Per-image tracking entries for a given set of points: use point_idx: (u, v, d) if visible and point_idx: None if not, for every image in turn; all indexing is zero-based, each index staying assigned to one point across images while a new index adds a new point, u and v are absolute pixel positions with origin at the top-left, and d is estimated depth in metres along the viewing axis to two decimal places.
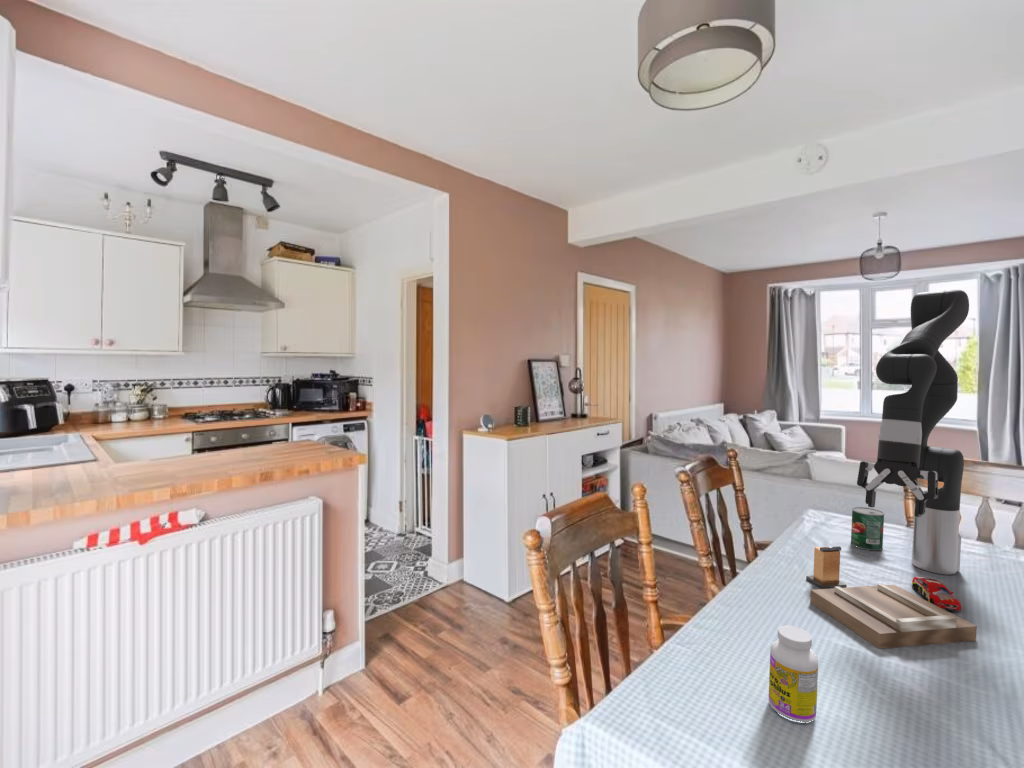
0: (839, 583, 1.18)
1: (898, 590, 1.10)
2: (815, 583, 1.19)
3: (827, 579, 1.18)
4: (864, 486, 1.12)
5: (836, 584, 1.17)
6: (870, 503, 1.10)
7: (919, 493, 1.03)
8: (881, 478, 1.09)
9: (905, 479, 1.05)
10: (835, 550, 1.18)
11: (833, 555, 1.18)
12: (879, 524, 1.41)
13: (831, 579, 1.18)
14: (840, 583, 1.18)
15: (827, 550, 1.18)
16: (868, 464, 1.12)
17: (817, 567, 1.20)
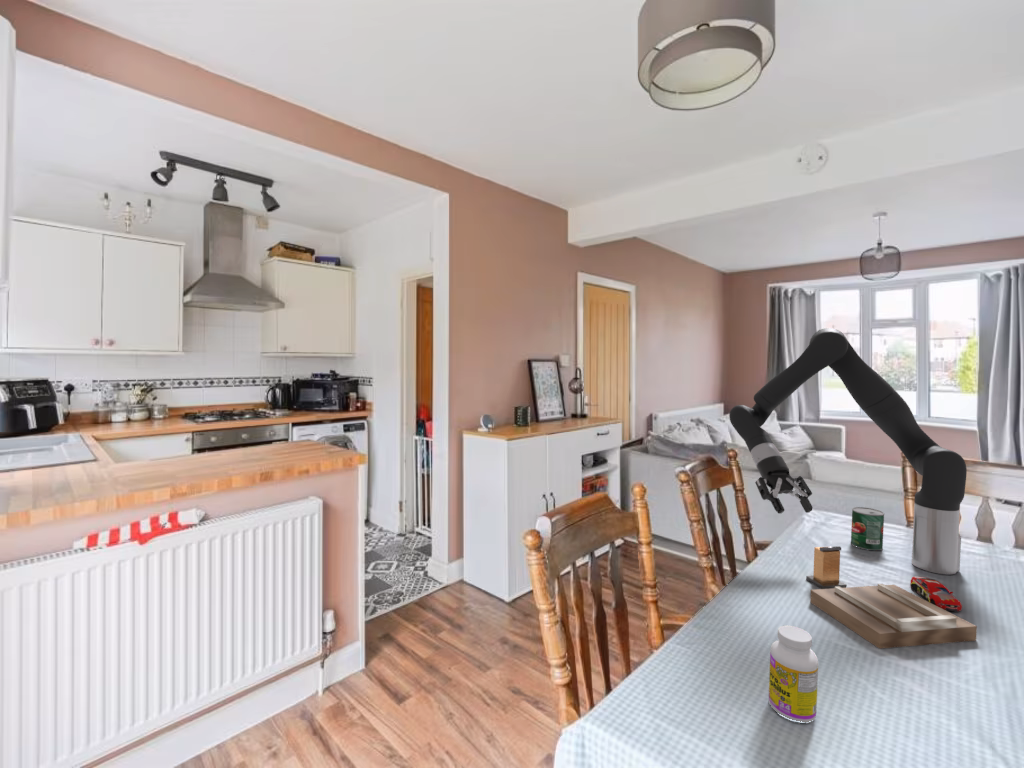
0: (839, 583, 1.18)
1: (898, 590, 1.10)
2: (815, 583, 1.19)
3: (827, 579, 1.18)
4: None
5: (836, 584, 1.17)
6: None
7: None
8: None
9: None
10: (835, 550, 1.18)
11: (832, 555, 1.18)
12: (879, 524, 1.41)
13: (831, 579, 1.18)
14: (840, 583, 1.18)
15: (827, 550, 1.18)
16: None
17: (817, 567, 1.20)
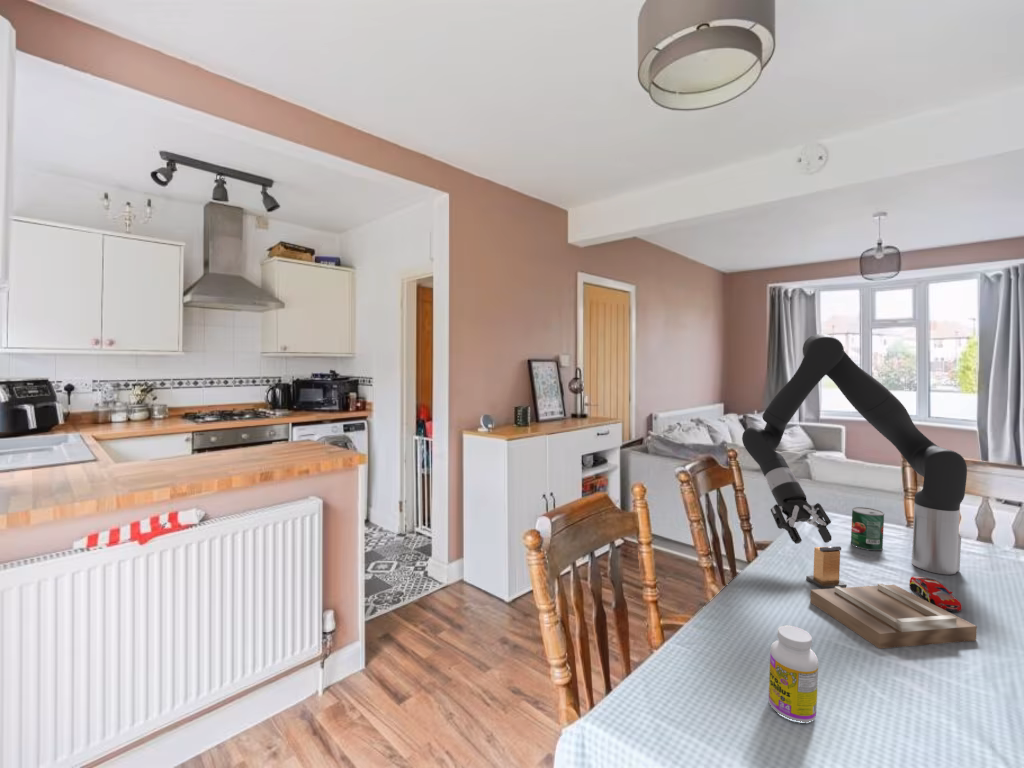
0: (839, 583, 1.18)
1: (898, 590, 1.10)
2: (815, 583, 1.19)
3: (827, 579, 1.18)
4: None
5: (836, 584, 1.17)
6: None
7: None
8: None
9: None
10: (835, 550, 1.18)
11: (832, 555, 1.18)
12: (879, 524, 1.41)
13: (831, 579, 1.18)
14: (840, 583, 1.18)
15: (827, 550, 1.18)
16: None
17: (817, 567, 1.20)
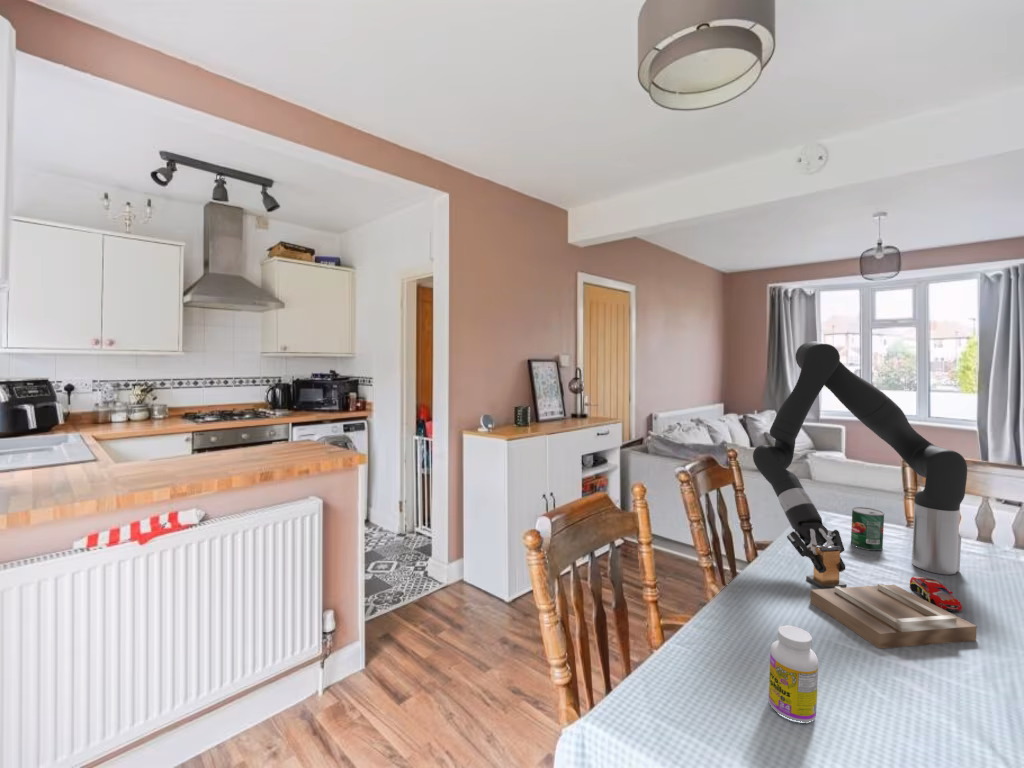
0: (839, 583, 1.18)
1: (898, 590, 1.10)
2: (815, 583, 1.19)
3: (827, 579, 1.18)
4: None
5: (836, 584, 1.17)
6: None
7: None
8: None
9: None
10: (835, 550, 1.18)
11: (832, 555, 1.18)
12: (879, 524, 1.41)
13: (831, 579, 1.18)
14: (840, 583, 1.18)
15: (827, 550, 1.18)
16: None
17: None
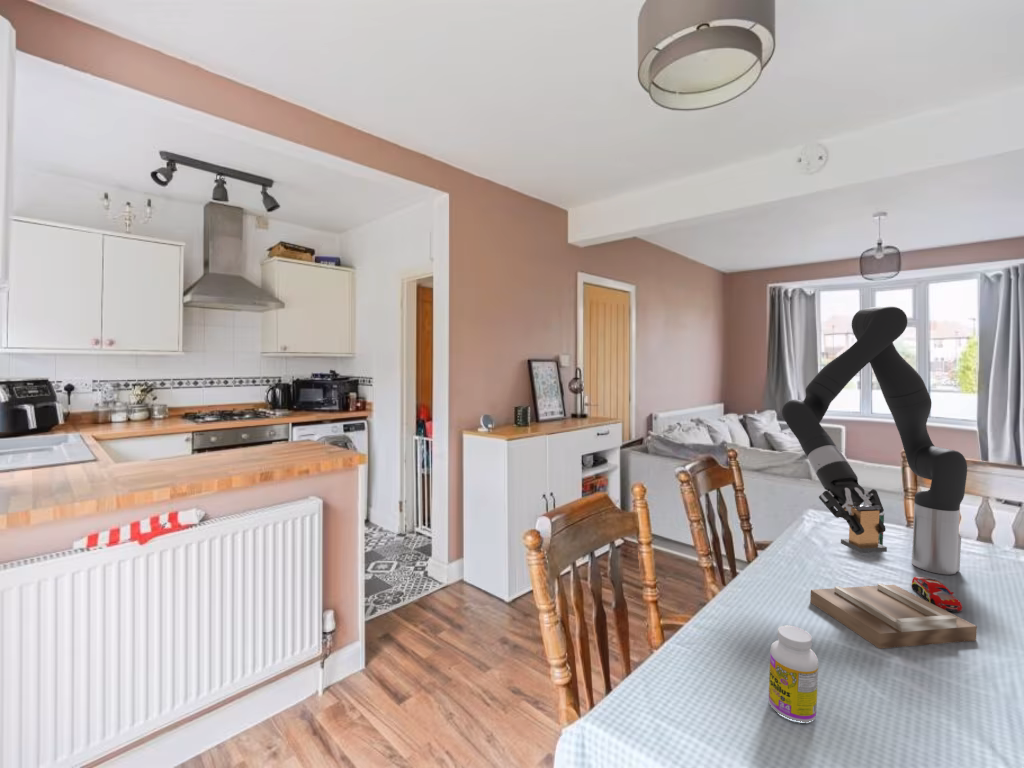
0: (878, 546, 1.07)
1: (898, 590, 1.10)
2: (851, 546, 1.08)
3: (865, 541, 1.07)
4: None
5: (875, 547, 1.06)
6: None
7: None
8: None
9: None
10: (874, 509, 1.07)
11: (871, 515, 1.07)
12: None
13: (869, 541, 1.07)
14: (879, 546, 1.07)
15: (865, 509, 1.07)
16: None
17: None
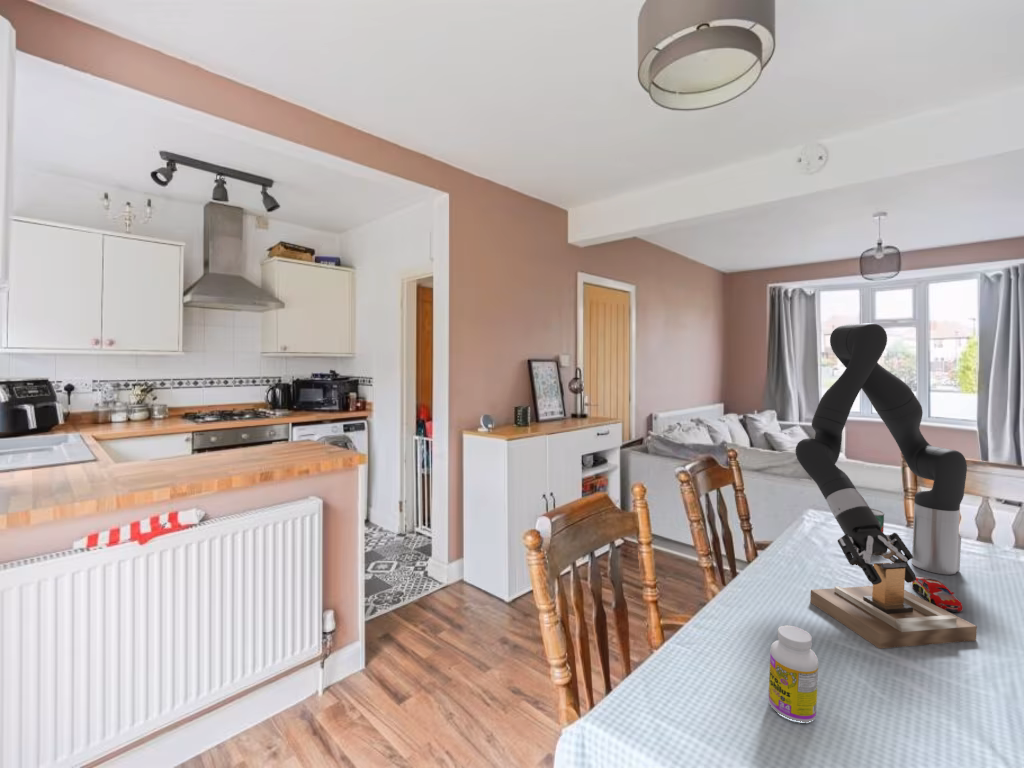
0: (904, 606, 1.01)
1: None
2: (875, 605, 1.02)
3: (890, 601, 1.01)
4: None
5: (901, 607, 1.01)
6: None
7: None
8: None
9: None
10: (899, 567, 1.01)
11: (896, 573, 1.01)
12: None
13: (894, 601, 1.02)
14: (905, 606, 1.01)
15: (890, 567, 1.01)
16: None
17: (877, 587, 1.03)
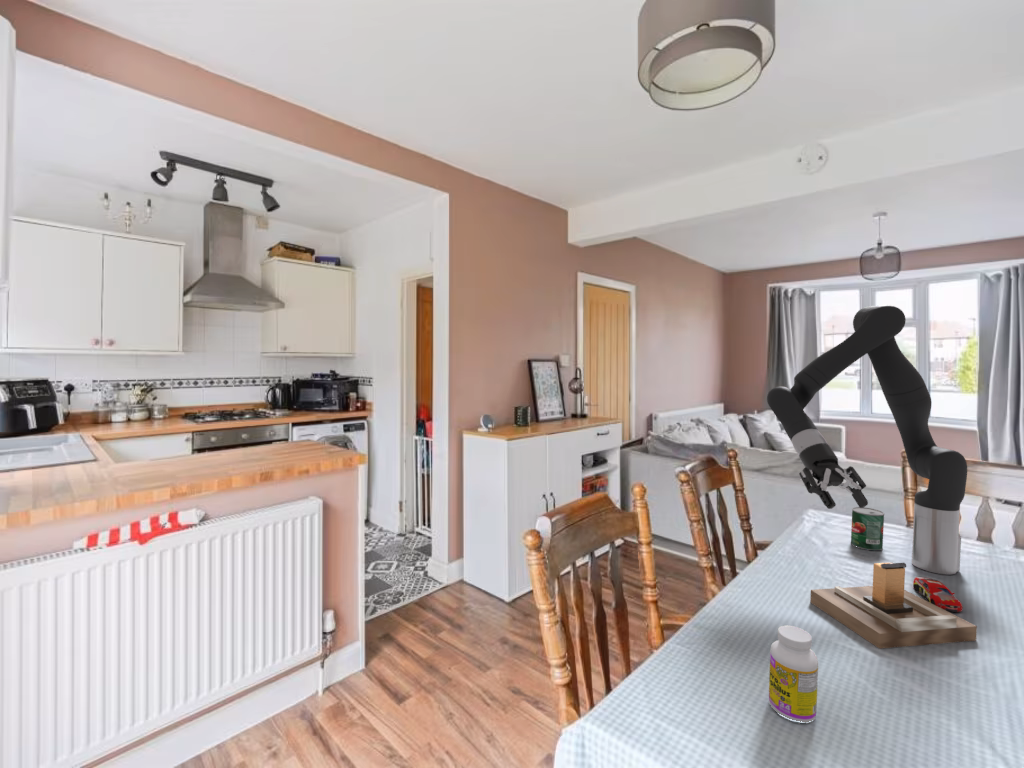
0: (904, 606, 1.01)
1: None
2: (875, 605, 1.02)
3: (890, 601, 1.01)
4: None
5: (901, 607, 1.01)
6: None
7: None
8: None
9: None
10: (899, 567, 1.01)
11: (896, 573, 1.01)
12: (879, 524, 1.41)
13: (894, 601, 1.02)
14: (905, 606, 1.01)
15: (890, 567, 1.01)
16: None
17: (877, 587, 1.03)
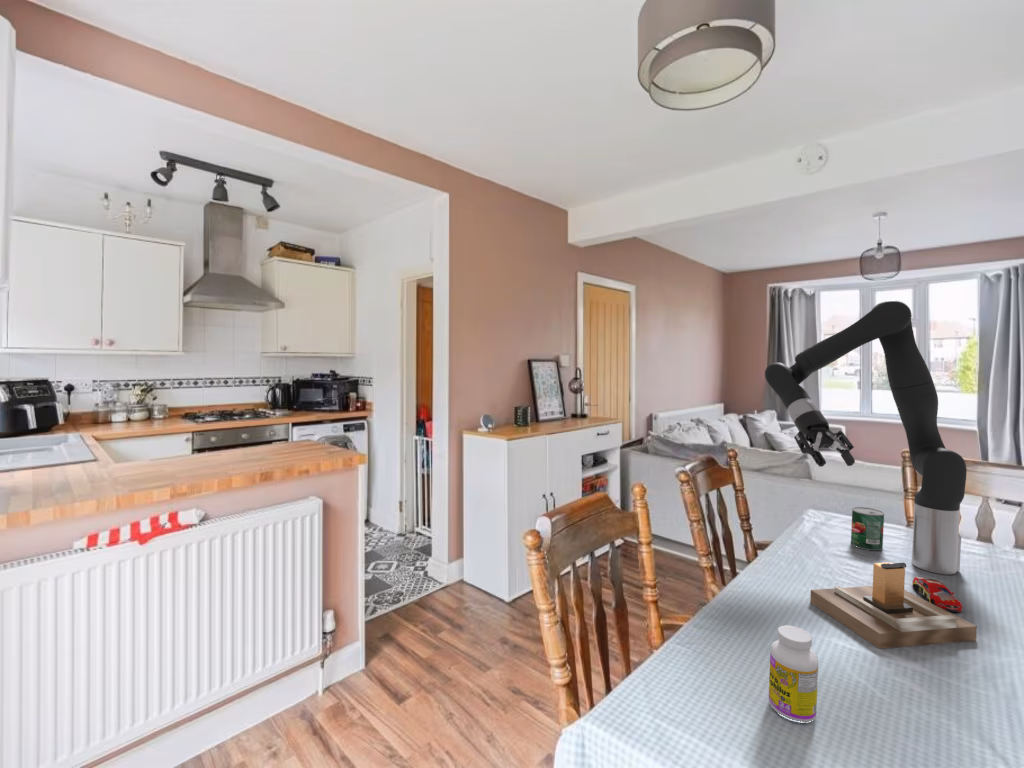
0: (904, 606, 1.01)
1: None
2: (875, 605, 1.02)
3: (890, 601, 1.01)
4: None
5: (901, 607, 1.01)
6: None
7: None
8: None
9: None
10: (899, 567, 1.01)
11: (896, 573, 1.01)
12: (879, 524, 1.41)
13: (894, 601, 1.02)
14: (905, 606, 1.01)
15: (890, 567, 1.01)
16: None
17: (877, 587, 1.03)
